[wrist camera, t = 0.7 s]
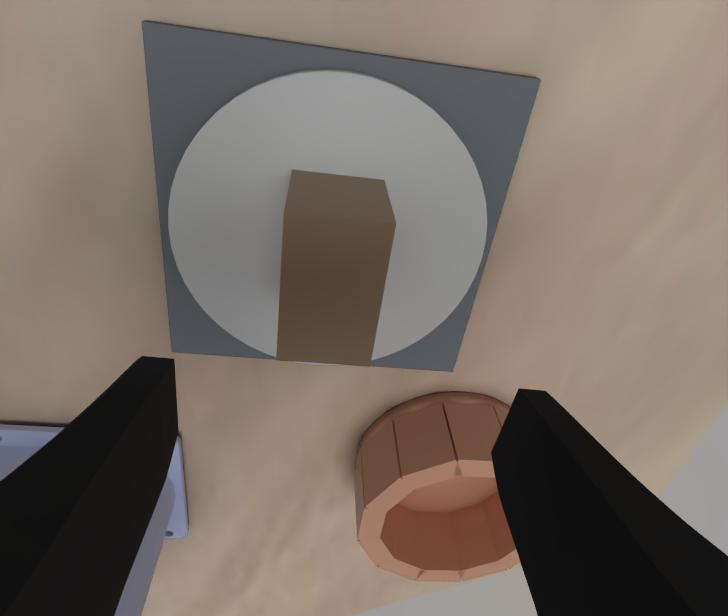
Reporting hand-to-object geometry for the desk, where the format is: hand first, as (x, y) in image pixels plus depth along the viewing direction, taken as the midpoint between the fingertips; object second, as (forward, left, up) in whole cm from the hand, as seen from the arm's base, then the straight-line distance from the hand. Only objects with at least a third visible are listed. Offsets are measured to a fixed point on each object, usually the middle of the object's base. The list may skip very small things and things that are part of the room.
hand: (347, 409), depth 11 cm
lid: (0, 0, -9) cm, 9 cm away
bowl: (+7, -12, -9) cm, 17 cm away
